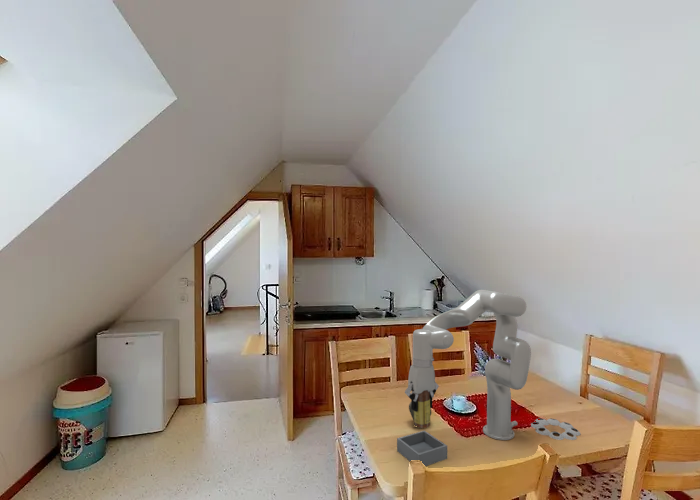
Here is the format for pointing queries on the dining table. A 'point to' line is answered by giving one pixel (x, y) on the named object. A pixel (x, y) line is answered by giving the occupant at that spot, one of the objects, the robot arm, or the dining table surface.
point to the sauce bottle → (423, 410)
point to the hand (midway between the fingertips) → (421, 408)
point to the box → (422, 448)
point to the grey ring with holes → (555, 422)
